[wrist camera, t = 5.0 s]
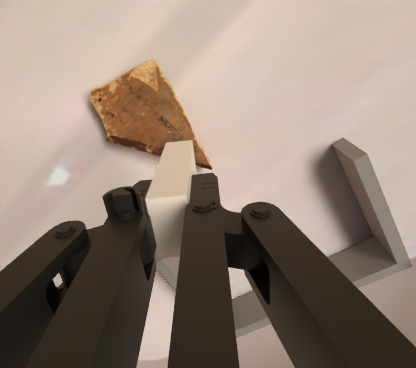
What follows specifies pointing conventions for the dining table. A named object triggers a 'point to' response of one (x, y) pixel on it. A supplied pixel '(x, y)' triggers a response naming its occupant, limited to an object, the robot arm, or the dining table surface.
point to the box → (345, 260)
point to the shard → (144, 112)
